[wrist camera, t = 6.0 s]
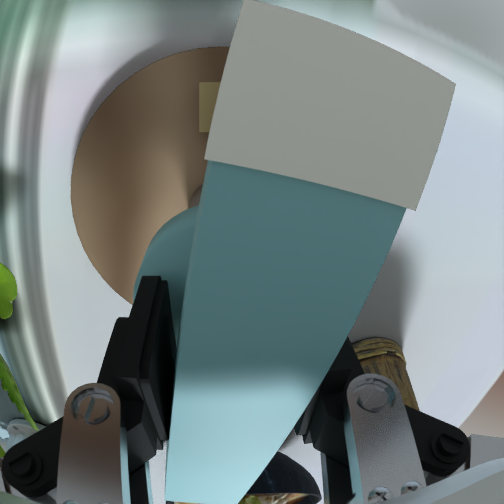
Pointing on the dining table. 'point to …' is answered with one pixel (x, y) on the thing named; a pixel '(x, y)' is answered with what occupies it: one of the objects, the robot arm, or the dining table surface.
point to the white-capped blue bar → (284, 234)
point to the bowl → (280, 484)
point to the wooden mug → (386, 365)
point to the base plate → (144, 160)
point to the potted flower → (3, 293)
